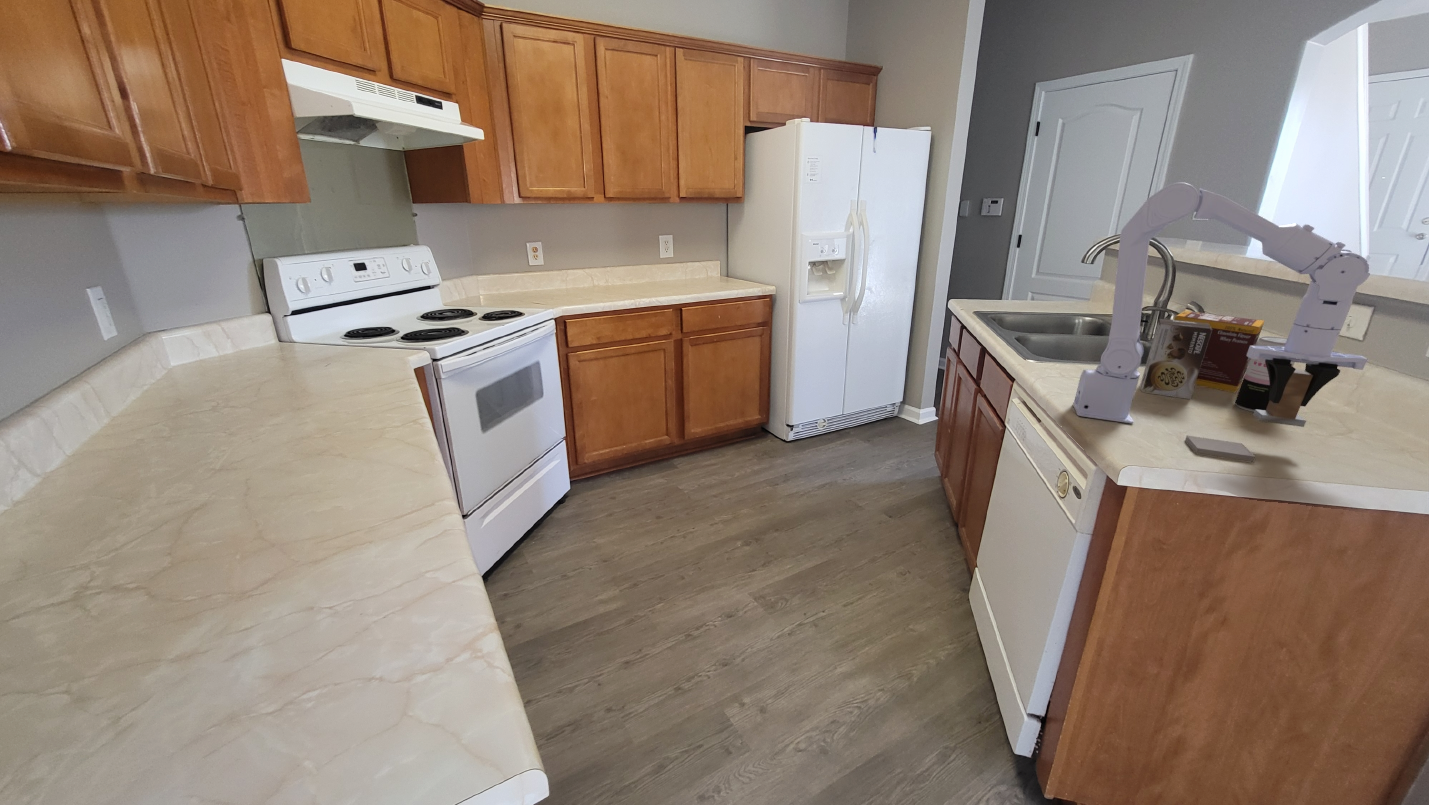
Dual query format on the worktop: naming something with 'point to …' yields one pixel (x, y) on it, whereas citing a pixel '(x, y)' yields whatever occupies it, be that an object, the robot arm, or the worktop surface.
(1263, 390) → the beverage can
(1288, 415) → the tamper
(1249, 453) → the tile
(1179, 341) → the coffee box
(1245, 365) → the supplement box
